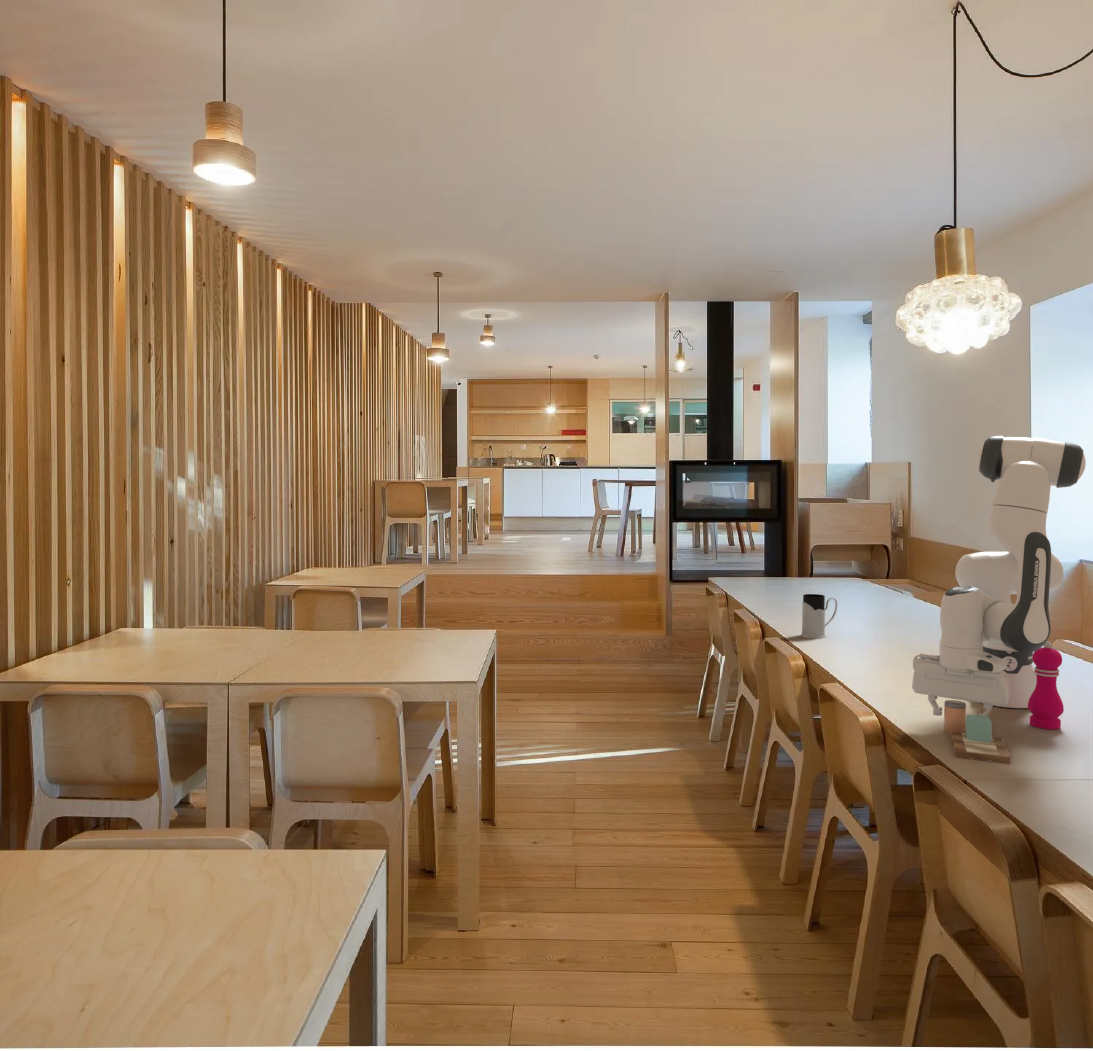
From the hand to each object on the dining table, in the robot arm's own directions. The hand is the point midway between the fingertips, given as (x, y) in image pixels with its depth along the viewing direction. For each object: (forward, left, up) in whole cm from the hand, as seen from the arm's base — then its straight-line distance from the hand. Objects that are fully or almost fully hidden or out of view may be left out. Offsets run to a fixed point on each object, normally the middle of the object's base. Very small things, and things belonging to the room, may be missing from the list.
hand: (959, 718), depth 191 cm
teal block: (+8, +3, -2) cm, 8 cm away
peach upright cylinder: (-1, -1, -3) cm, 4 cm away
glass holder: (-110, -38, -4) cm, 116 cm away
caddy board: (+11, +3, -3) cm, 12 cm away
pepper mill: (-14, +19, -4) cm, 24 cm away
